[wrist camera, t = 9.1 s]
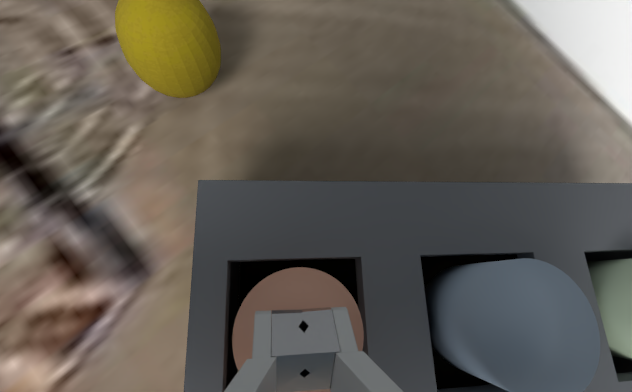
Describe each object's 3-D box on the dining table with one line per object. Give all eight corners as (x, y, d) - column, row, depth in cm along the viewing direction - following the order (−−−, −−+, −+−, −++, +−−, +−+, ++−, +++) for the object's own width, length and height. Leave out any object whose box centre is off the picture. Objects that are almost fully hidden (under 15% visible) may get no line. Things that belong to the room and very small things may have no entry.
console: (217, 431, 17) (172, 546, 10) (226, 218, 21) (198, 180, 13) (592, 393, 21) (779, 458, 13) (549, 216, 24) (679, 183, 16)
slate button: (427, 375, 13) (489, 411, 10) (414, 266, 15) (464, 260, 11) (523, 367, 14) (617, 398, 10) (503, 263, 15) (580, 256, 12)
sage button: (561, 355, 16) (652, 377, 12) (540, 263, 17) (616, 257, 13) (637, 349, 17) (746, 368, 13) (612, 261, 18) (704, 254, 14)
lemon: (207, 43, 24) (176, -69, 16) (241, 100, 23) (226, 8, 15) (136, 70, 23) (66, -39, 15) (170, 131, 22) (114, 48, 14)
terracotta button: (241, 380, 14) (229, 416, 10) (244, 273, 15) (234, 269, 11) (343, 372, 14) (368, 403, 11) (337, 270, 16) (358, 265, 12)
